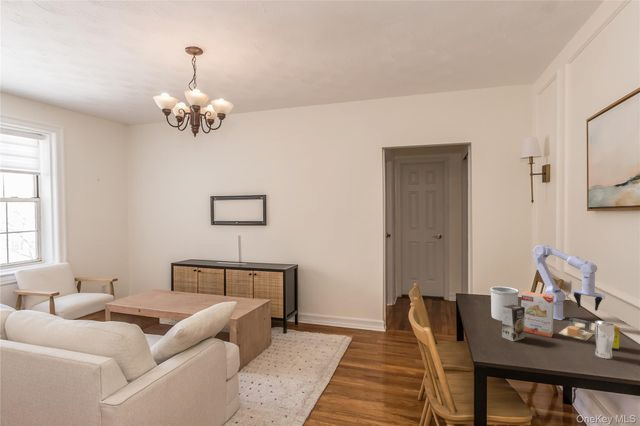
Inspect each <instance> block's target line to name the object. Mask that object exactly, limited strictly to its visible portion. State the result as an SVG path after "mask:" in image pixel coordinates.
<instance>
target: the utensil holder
mask: <svg viewBox="0 0 640 426" xmlns="http://www.w3.org/2000/svg"><path fill="white" fill-rule="evenodd" d="M490 303H491V304H490V306H491V307H490V309H491V310H490V312H491V318H492V319H495V320H496V321H500V322H502V320H503V306H508V305H518V306H519V290H518V289H517V288H514V287H510V286H498V285H497V286H491V287H490Z"/></svg>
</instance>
